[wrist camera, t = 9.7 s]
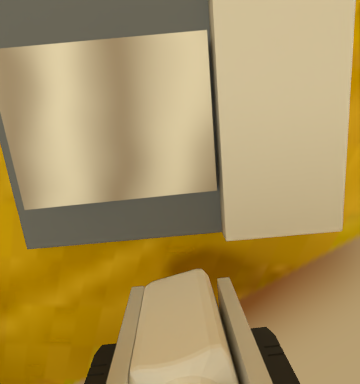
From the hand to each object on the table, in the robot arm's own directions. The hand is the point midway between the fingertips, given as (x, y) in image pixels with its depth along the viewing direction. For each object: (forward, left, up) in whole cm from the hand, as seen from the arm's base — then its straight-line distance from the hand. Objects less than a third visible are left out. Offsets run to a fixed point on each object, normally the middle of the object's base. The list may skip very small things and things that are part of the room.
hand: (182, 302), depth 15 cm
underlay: (0, +11, -4) cm, 12 cm away
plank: (-3, +11, -3) cm, 12 cm away
